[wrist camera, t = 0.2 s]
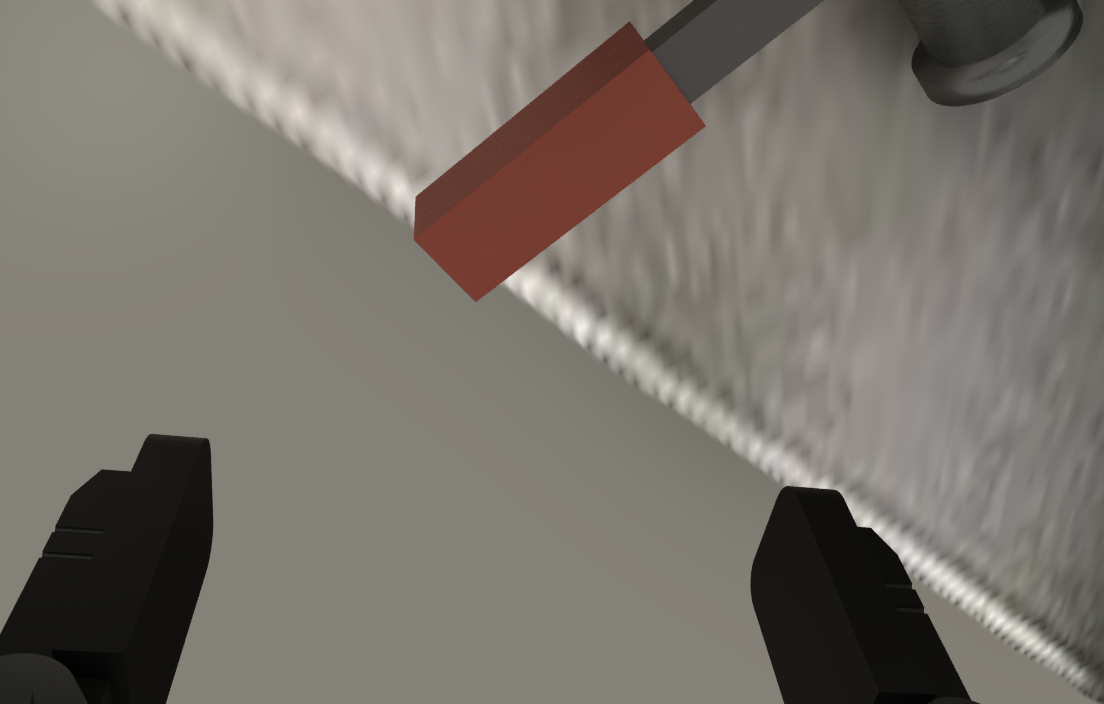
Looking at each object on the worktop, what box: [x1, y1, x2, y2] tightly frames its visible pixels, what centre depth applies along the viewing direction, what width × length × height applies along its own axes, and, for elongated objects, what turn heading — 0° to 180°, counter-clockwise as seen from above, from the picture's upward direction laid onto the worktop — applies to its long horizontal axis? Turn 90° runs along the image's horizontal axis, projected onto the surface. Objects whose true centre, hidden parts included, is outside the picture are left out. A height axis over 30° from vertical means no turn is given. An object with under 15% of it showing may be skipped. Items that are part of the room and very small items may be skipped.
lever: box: [414, 0, 823, 302], centre depth 26 cm, size 20×3×3 cm, turn 128°
